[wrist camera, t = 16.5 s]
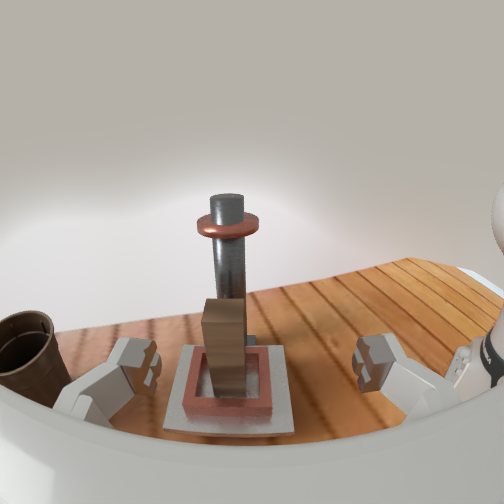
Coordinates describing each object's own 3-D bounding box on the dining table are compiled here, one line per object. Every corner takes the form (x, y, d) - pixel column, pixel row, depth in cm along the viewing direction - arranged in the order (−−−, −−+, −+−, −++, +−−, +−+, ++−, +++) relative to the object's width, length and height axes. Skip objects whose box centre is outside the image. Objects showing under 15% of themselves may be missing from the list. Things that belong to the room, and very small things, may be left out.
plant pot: (74, 362, 44) (44, 298, 37) (104, 414, 34) (62, 348, 27) (18, 390, 32) (-22, 329, 26) (36, 449, 23) (-22, 389, 16)
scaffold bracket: (289, 449, 31) (325, 266, 18) (173, 445, 31) (97, 267, 18) (277, 336, 55) (282, 190, 42) (195, 336, 55) (176, 192, 42)
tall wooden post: (246, 396, 34) (242, 322, 28) (214, 396, 34) (201, 321, 28) (246, 373, 38) (243, 298, 32) (216, 373, 38) (206, 298, 32)
